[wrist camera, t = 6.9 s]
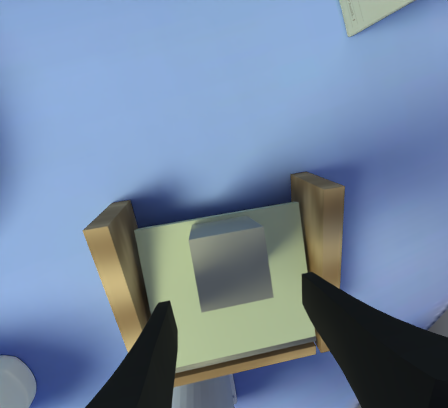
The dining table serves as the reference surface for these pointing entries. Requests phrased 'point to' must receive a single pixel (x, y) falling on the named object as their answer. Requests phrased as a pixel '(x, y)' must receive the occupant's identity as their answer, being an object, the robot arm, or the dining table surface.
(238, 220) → the gray block
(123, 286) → the hatch frame
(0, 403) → the jar
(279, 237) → the hatch
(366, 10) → the supplement box
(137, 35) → the dining table surface
